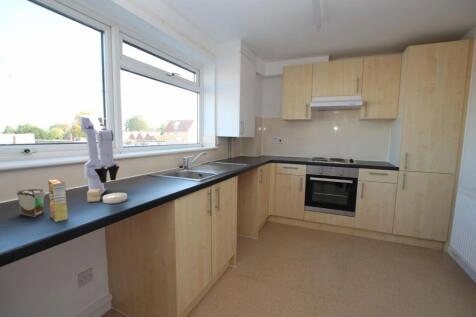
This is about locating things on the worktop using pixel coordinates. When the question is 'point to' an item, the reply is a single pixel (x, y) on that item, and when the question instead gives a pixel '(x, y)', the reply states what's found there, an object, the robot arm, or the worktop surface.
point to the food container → (31, 201)
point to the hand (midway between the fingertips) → (108, 181)
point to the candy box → (58, 200)
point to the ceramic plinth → (114, 198)
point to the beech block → (94, 195)
